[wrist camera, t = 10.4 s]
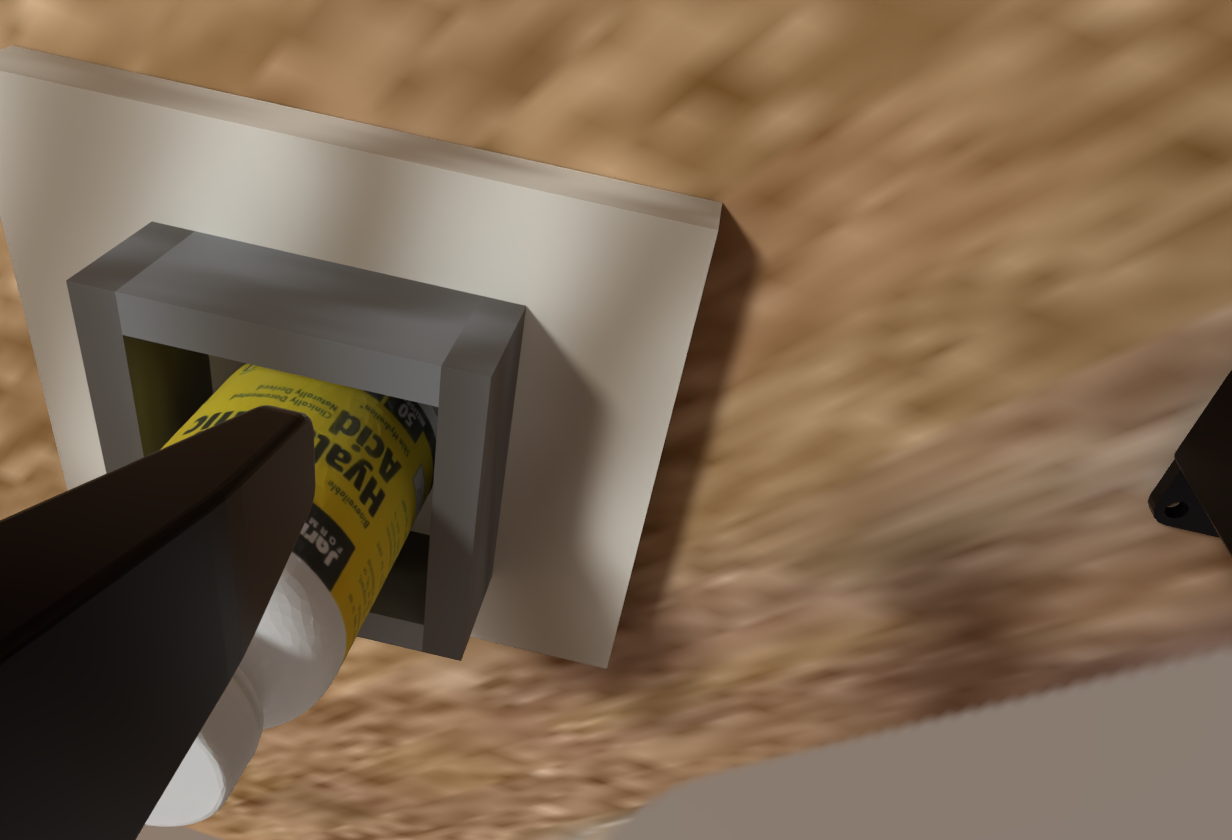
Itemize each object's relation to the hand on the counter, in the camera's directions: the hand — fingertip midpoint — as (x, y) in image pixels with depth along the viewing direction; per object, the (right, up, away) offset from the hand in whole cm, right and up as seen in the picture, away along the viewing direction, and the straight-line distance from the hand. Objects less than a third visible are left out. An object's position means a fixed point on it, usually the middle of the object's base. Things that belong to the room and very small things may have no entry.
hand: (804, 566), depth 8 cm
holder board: (-8, +2, +16) cm, 18 cm away
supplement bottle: (-8, +1, +15) cm, 17 cm away
